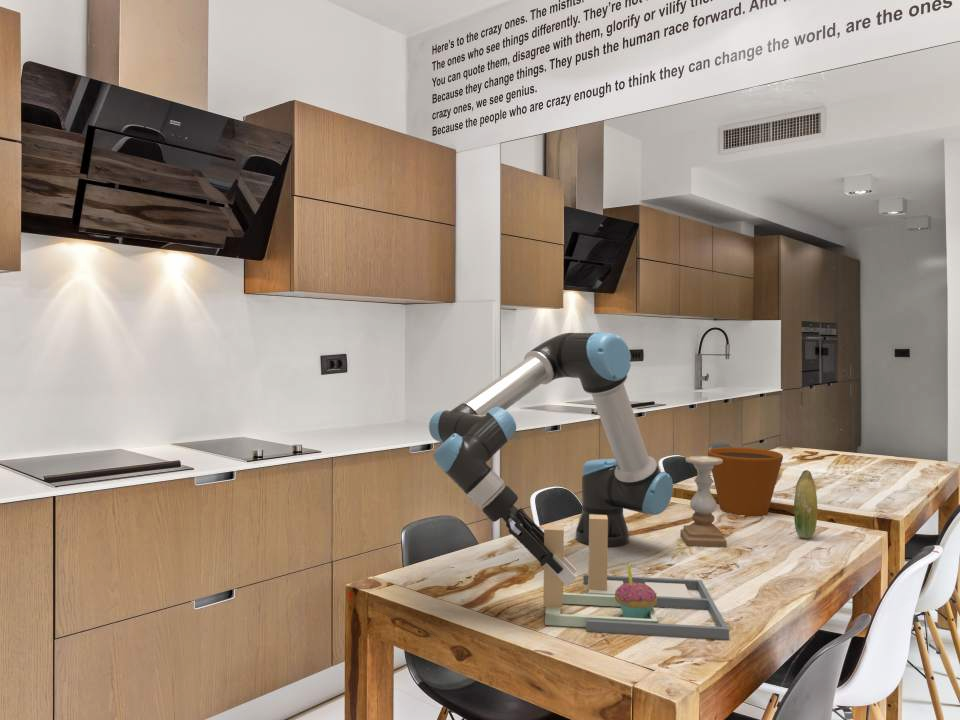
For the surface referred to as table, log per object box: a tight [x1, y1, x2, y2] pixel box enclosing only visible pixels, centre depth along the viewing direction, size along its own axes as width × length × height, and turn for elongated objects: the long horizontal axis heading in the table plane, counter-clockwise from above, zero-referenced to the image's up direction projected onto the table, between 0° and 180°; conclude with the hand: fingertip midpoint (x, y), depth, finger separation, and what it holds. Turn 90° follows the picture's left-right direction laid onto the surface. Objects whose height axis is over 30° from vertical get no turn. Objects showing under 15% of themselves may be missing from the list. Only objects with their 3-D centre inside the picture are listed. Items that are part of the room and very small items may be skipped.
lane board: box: [582, 574, 730, 641], centre depth 150 cm, size 27×28×2 cm
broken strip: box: [587, 514, 692, 598], centre depth 157 cm, size 22×10×17 cm, turn 83°
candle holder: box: [679, 455, 728, 548], centre depth 200 cm, size 11×11×24 cm
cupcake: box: [615, 561, 657, 619], centre depth 144 cm, size 9×8×12 cm
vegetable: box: [793, 469, 818, 540], centre depth 204 cm, size 6×6×20 cm
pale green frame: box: [542, 524, 659, 628], centre depth 145 cm, size 22×13×18 cm, turn 83°
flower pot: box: [707, 446, 784, 517], centre depth 237 cm, size 24×24×20 cm
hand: (571, 577), depth 146 cm, fingers closed on pale green frame, 4 cm apart
